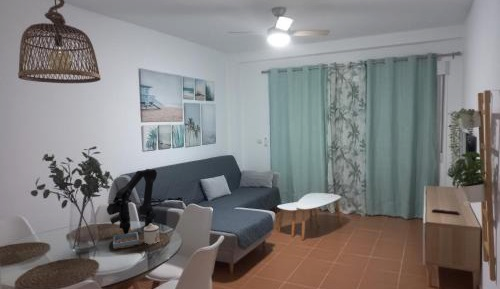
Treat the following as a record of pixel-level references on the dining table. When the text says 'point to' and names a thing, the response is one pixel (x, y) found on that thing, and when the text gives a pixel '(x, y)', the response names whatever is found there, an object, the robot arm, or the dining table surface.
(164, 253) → the dining table surface
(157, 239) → the teacup with lid
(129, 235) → the big crate
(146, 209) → the robot arm
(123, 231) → the small crate
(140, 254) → the dining table surface
